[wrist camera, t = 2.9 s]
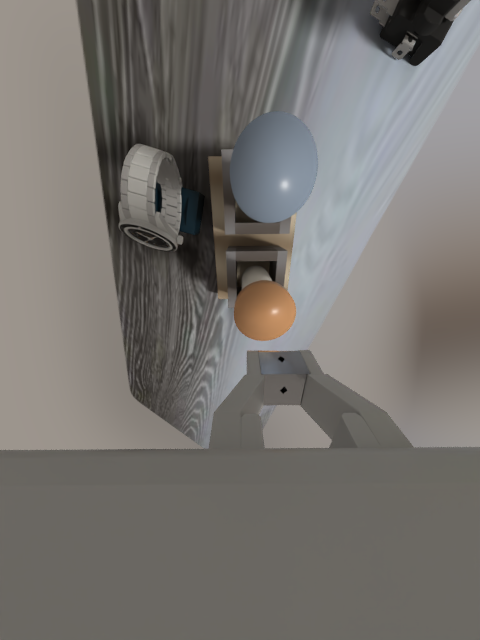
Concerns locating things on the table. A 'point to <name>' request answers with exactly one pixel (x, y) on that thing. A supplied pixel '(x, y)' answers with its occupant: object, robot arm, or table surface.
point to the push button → (416, 24)
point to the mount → (244, 236)
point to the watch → (156, 200)
